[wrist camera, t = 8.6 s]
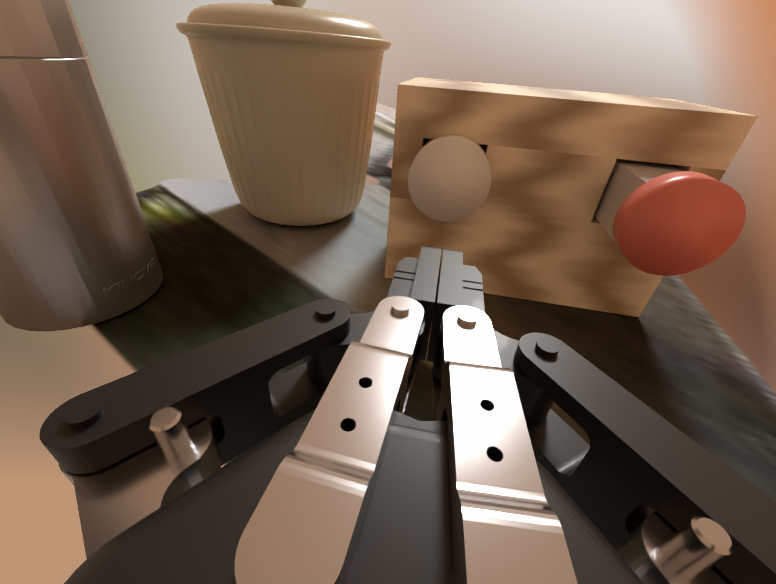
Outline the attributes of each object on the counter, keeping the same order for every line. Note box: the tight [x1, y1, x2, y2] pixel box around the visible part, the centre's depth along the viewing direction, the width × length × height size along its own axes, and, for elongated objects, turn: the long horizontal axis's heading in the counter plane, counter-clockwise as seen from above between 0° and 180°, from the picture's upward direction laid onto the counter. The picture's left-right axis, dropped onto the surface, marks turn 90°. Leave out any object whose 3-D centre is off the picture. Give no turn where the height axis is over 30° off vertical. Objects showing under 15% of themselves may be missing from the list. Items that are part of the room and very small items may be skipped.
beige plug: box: [408, 134, 491, 222], centre depth 26 cm, size 5×9×5 cm, turn 169°
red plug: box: [594, 159, 746, 276], centre depth 21 cm, size 5×9×5 cm, turn 169°
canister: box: [176, 0, 391, 226], centre depth 35 cm, size 18×18×21 cm
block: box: [385, 77, 757, 317], centre depth 28 cm, size 20×10×14 cm, turn 79°
